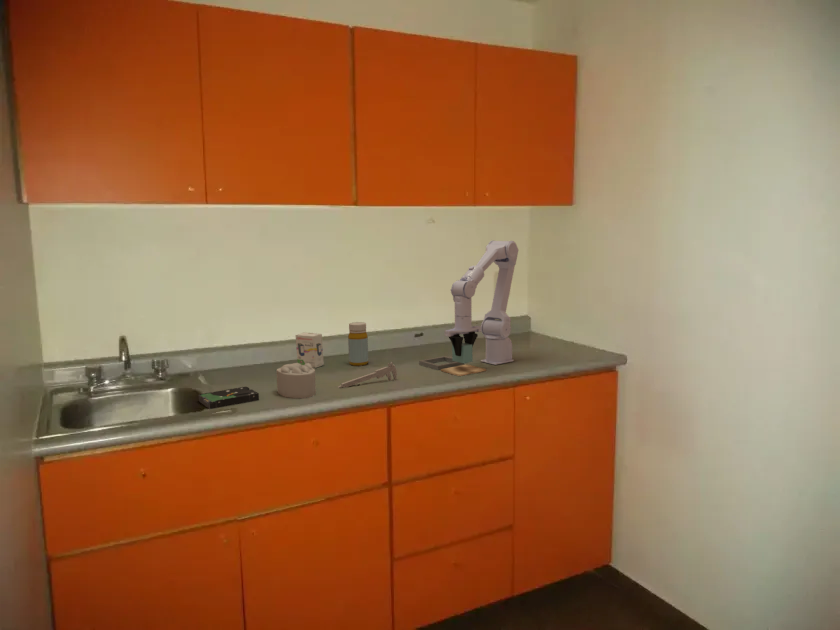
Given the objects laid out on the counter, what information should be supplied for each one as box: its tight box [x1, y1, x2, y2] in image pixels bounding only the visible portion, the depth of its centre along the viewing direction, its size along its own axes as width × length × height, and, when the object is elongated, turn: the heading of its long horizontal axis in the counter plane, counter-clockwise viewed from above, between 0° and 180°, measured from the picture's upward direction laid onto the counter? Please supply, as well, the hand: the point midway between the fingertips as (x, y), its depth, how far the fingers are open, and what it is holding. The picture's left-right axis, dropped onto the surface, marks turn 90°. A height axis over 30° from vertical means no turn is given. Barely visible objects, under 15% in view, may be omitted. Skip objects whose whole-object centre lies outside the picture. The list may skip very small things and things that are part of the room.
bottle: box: [347, 321, 369, 367], centre depth 234 cm, size 7×7×15 cm
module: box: [451, 342, 474, 364], centre depth 222 cm, size 4×6×6 cm, turn 37°
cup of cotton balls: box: [276, 362, 317, 399], centre depth 197 cm, size 10×13×9 cm
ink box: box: [295, 331, 324, 369], centre depth 233 cm, size 9×5×12 cm, turn 64°
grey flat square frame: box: [418, 355, 465, 371], centre depth 232 cm, size 12×11×2 cm
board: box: [440, 363, 487, 377], centre depth 222 cm, size 12×10×1 cm
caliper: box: [337, 361, 398, 389], centre depth 207 cm, size 20×1×6 cm, turn 120°
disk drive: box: [198, 386, 260, 410], centre depth 190 cm, size 10×3×15 cm
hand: (463, 354), depth 222 cm, fingers closed on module, 4 cm apart
